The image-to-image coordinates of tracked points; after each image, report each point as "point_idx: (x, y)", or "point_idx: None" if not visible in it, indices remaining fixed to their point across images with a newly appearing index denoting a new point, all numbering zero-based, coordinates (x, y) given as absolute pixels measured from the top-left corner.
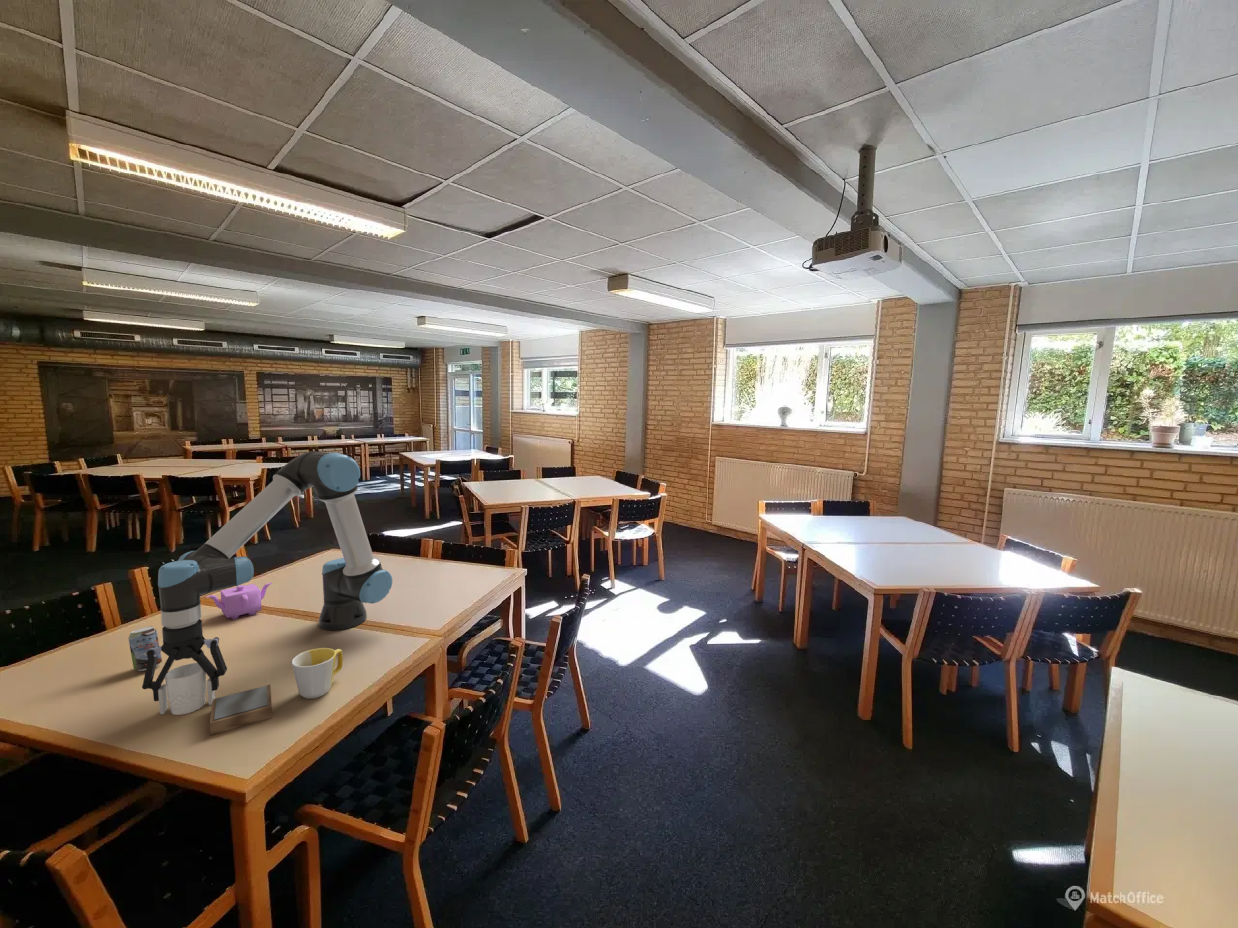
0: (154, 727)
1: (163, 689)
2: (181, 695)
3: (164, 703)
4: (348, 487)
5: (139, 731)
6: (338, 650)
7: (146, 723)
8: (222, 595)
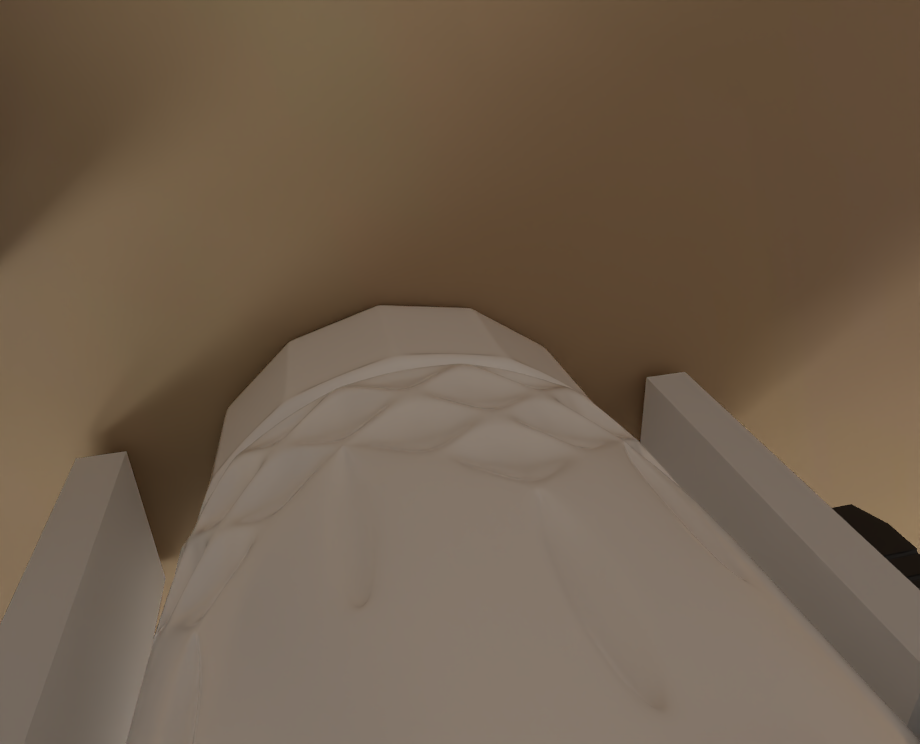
0: (681, 52)
1: None
2: (473, 465)
3: (704, 489)
4: None
5: (840, 11)
6: None
7: (787, 217)
8: None
